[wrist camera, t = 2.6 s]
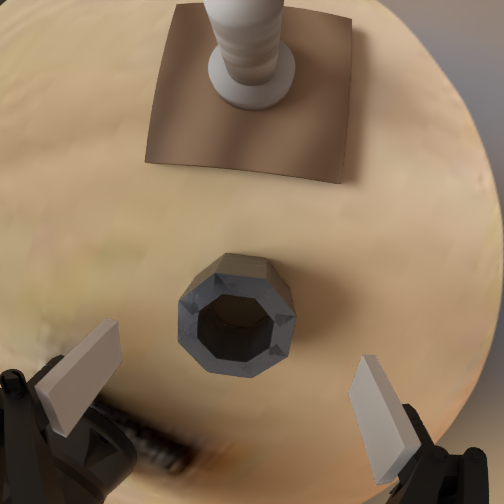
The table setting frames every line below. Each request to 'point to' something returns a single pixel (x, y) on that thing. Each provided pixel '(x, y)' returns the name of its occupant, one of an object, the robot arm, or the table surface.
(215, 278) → the collar
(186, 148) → the shaft block
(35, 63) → the table surface
